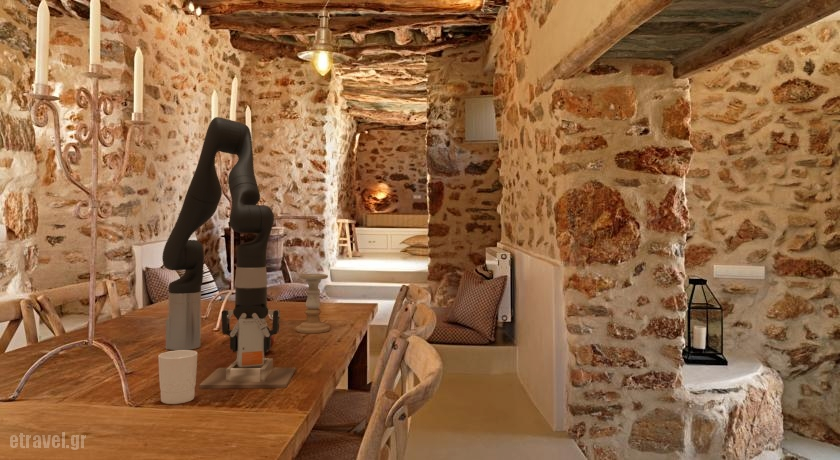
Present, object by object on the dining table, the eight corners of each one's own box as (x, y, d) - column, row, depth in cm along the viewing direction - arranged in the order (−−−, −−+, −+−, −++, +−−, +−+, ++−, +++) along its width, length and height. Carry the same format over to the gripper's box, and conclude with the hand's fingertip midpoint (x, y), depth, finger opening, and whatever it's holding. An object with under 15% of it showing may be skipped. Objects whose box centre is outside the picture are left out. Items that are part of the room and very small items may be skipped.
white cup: (172, 407, 118) (173, 360, 118) (150, 401, 122) (150, 355, 122) (204, 398, 125) (205, 353, 125) (182, 392, 129) (182, 348, 129)
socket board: (198, 388, 132) (198, 372, 132) (218, 370, 148) (218, 356, 148) (285, 387, 133) (285, 371, 133) (295, 370, 149) (295, 355, 149)
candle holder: (326, 334, 199) (327, 276, 198) (291, 333, 199) (292, 276, 199) (332, 327, 211) (333, 273, 211) (299, 327, 211) (300, 273, 211)
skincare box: (239, 368, 137) (239, 319, 137) (236, 364, 141) (236, 316, 141) (264, 365, 140) (265, 317, 140) (261, 361, 144) (261, 315, 144)
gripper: (217, 286, 136) (216, 355, 136) (277, 286, 137) (277, 354, 137) (225, 283, 143) (225, 348, 144) (283, 283, 144) (282, 348, 145)
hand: (250, 351), depth 140 cm, fingers closed on skincare box, 7 cm apart
